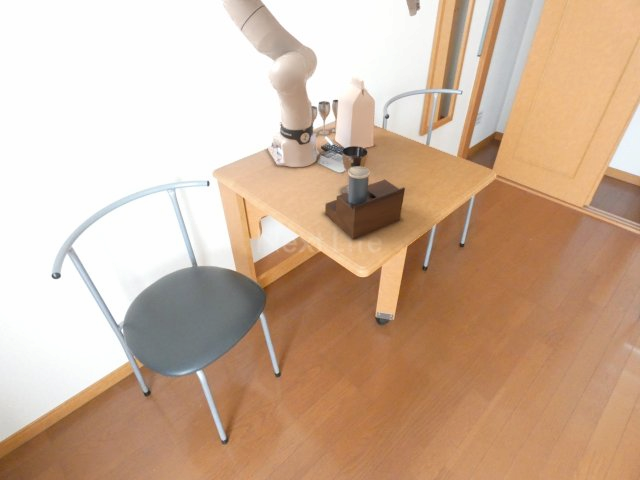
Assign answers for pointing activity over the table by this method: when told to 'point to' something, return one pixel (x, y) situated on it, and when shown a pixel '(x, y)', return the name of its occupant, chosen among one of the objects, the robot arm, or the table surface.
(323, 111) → the goblet set
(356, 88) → the milk
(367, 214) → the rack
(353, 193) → the tumbler
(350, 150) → the wine glass
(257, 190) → the table surface
